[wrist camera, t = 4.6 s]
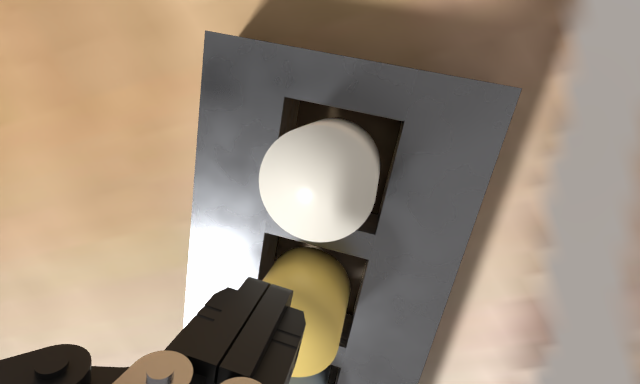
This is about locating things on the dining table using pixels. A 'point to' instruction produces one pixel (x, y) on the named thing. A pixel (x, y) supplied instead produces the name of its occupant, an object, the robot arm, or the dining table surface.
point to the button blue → (313, 378)
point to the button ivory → (321, 179)
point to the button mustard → (314, 303)
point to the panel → (378, 230)
